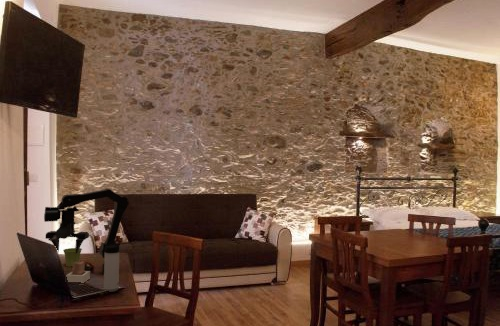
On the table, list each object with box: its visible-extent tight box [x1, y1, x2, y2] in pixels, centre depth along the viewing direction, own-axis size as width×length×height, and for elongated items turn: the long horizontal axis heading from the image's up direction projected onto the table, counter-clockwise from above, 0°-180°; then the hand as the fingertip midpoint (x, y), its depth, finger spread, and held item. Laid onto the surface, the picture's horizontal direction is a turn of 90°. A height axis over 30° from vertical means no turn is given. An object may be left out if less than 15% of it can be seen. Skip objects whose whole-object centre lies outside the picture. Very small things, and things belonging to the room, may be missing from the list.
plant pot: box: [63, 247, 83, 268], centre depth 224 cm, size 9×9×9 cm
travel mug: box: [103, 243, 121, 293], centre depth 184 cm, size 6×7×20 cm
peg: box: [71, 261, 86, 275], centre depth 194 cm, size 4×4×9 cm
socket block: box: [65, 270, 91, 283], centre depth 194 cm, size 8×8×4 cm
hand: (67, 253), depth 200 cm, fingers open, 9 cm apart
